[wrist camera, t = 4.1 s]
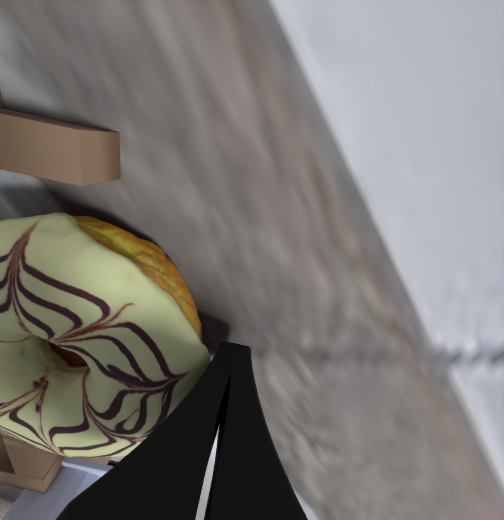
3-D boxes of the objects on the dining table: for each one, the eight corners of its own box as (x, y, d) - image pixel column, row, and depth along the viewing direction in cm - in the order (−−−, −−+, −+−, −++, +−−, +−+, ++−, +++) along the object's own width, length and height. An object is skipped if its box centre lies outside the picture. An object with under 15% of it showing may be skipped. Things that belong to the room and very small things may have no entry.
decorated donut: (262, 336, 12) (256, 416, 8) (120, 420, 15) (75, 500, 12) (75, 144, 9) (-49, 144, 6) (-46, 299, 12) (-169, 359, 9)
